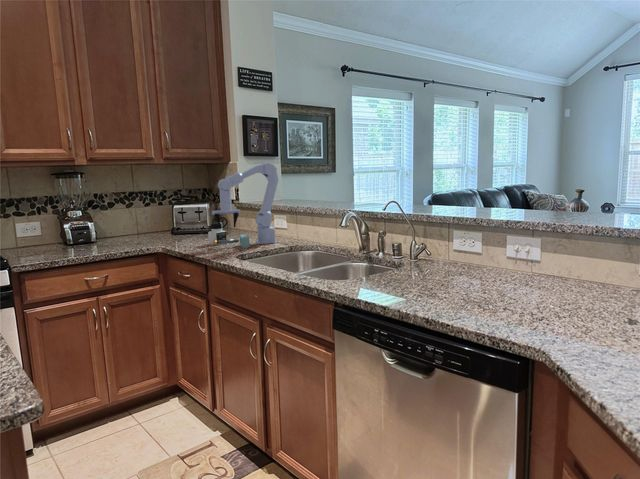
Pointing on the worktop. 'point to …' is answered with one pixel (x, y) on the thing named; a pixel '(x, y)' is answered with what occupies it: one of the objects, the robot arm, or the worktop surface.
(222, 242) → the t-handle rod
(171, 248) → the worktop surface
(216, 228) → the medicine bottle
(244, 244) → the block
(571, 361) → the worktop surface
